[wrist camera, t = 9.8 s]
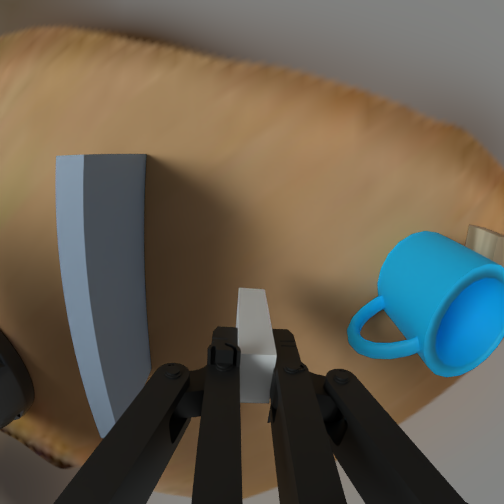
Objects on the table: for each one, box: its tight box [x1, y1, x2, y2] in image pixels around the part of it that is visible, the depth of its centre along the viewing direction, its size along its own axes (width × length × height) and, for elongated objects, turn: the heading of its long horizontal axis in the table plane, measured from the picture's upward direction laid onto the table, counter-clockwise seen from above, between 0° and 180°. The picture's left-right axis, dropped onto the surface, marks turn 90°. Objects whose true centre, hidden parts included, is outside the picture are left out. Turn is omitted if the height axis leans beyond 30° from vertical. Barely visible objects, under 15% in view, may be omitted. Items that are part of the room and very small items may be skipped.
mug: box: [347, 231, 504, 377], centre depth 20 cm, size 12×8×8 cm
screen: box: [56, 154, 152, 438], centre depth 19 cm, size 4×18×9 cm, turn 175°
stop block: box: [465, 225, 504, 268], centre depth 22 cm, size 2×12×4 cm, turn 175°
